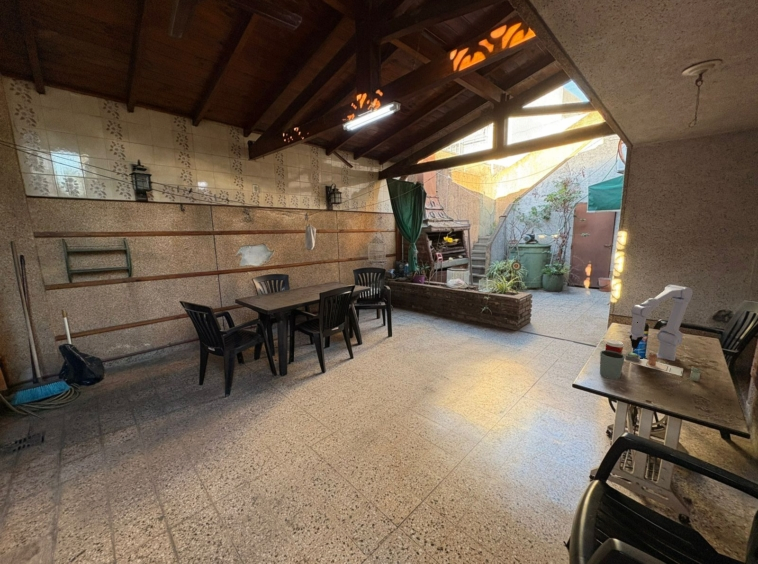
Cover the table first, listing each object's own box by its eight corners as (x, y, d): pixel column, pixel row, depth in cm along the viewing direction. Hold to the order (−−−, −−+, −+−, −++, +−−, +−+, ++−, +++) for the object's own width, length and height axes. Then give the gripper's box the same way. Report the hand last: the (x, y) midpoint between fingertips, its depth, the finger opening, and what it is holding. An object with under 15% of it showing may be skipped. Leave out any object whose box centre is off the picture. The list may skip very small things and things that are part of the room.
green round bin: (611, 381, 148) (615, 359, 146) (592, 371, 157) (595, 351, 155) (626, 378, 150) (629, 356, 148) (606, 369, 160) (609, 349, 158)
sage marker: (689, 377, 150) (691, 366, 149) (699, 380, 148) (701, 369, 147) (689, 379, 148) (691, 369, 147) (698, 382, 146) (701, 371, 145)
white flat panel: (626, 355, 177) (627, 354, 176) (683, 369, 159) (683, 368, 159) (622, 361, 169) (622, 360, 169) (681, 376, 151) (681, 375, 151)
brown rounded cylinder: (656, 364, 163) (657, 354, 162) (655, 366, 161) (657, 356, 160) (648, 362, 166) (650, 352, 165) (647, 364, 164) (649, 354, 163)
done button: (629, 355, 172) (630, 352, 172) (637, 357, 170) (638, 354, 169) (628, 357, 170) (628, 353, 170) (636, 359, 167) (636, 355, 167)
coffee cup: (624, 371, 158) (628, 345, 155) (607, 369, 160) (610, 344, 157) (615, 364, 166) (618, 339, 163) (598, 362, 168) (602, 338, 165)
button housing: (627, 356, 174) (627, 352, 174) (640, 359, 170) (640, 355, 169) (625, 359, 170) (625, 355, 170) (638, 362, 166) (639, 358, 165)
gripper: (631, 321, 174) (628, 342, 176) (626, 327, 164) (623, 349, 167) (647, 324, 169) (643, 346, 171) (643, 330, 159) (639, 353, 162)
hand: (634, 348), depth 169 cm, fingers closed
